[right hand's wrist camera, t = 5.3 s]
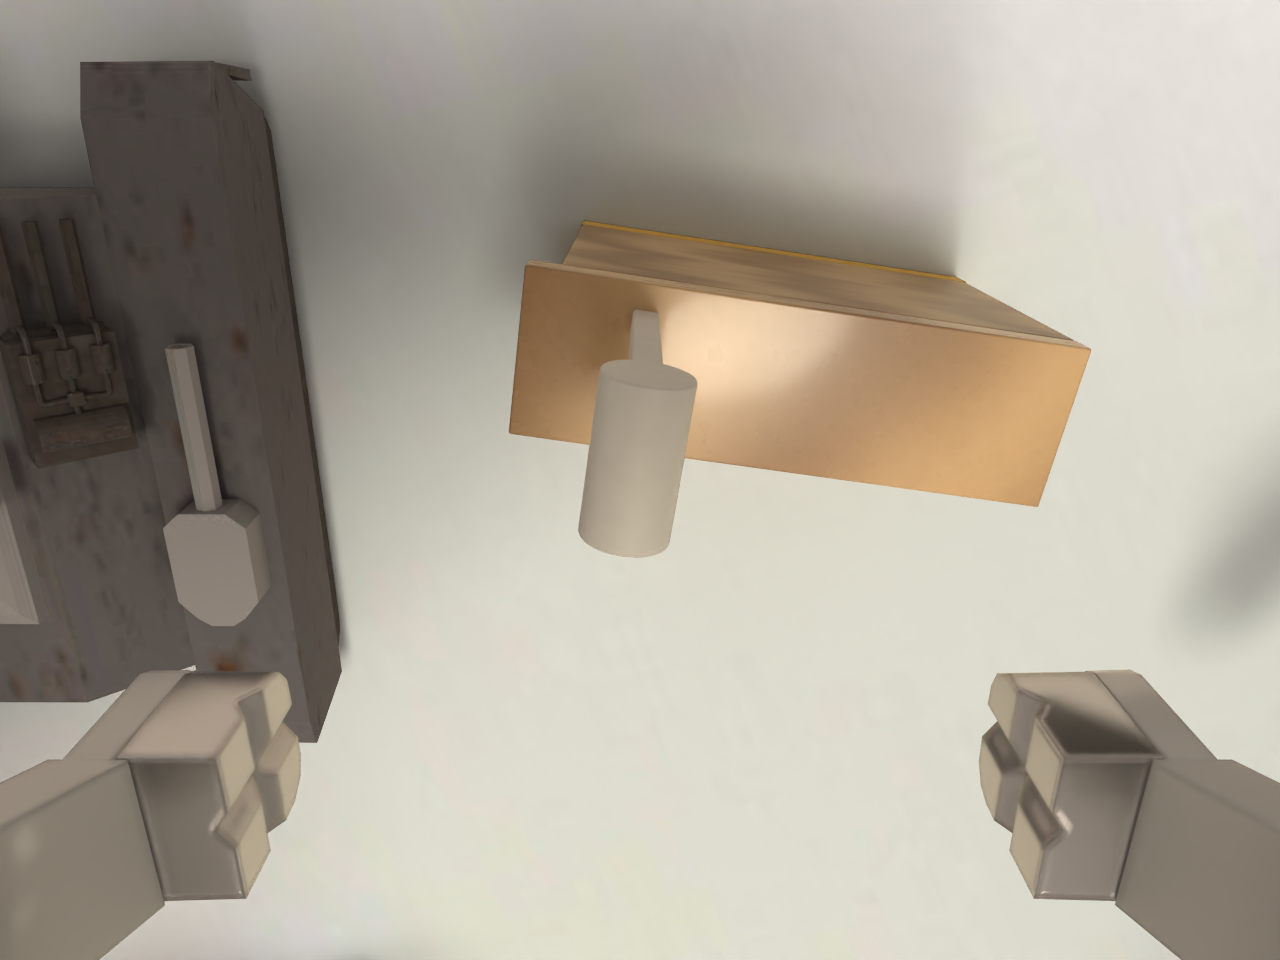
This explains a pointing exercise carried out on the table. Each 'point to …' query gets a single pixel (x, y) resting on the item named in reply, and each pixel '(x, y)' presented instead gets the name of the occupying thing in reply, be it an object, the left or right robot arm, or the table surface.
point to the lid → (775, 395)
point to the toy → (159, 408)
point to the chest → (794, 277)
